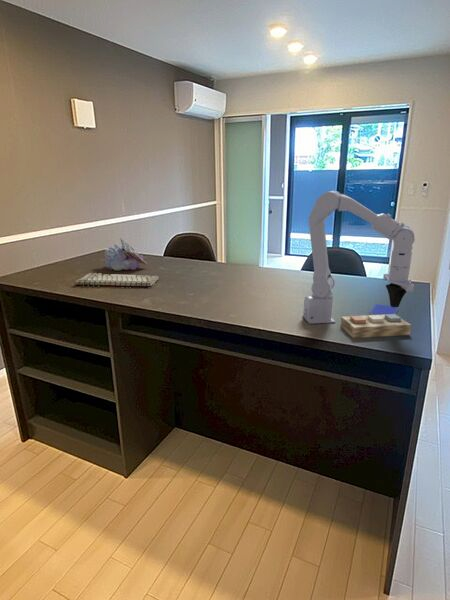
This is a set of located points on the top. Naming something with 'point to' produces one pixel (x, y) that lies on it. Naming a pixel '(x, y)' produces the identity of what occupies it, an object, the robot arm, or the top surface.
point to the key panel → (375, 328)
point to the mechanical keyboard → (115, 281)
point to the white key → (375, 319)
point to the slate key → (392, 318)
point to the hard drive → (383, 310)
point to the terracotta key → (358, 320)
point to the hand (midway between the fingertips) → (394, 306)
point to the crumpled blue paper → (122, 257)
